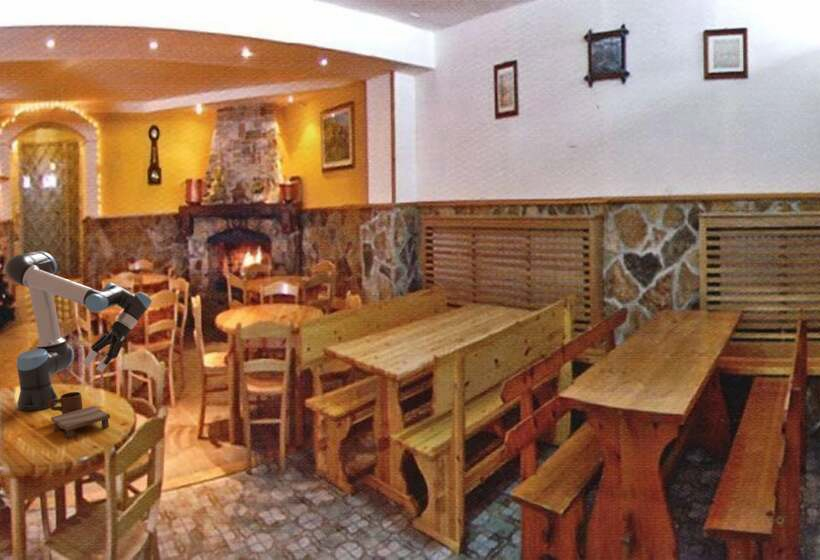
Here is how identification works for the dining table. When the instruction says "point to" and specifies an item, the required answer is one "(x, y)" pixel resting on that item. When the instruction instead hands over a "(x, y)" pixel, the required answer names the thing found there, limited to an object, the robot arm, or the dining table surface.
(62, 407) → the mug
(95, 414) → the brown wooden bench
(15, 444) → the dining table surface
